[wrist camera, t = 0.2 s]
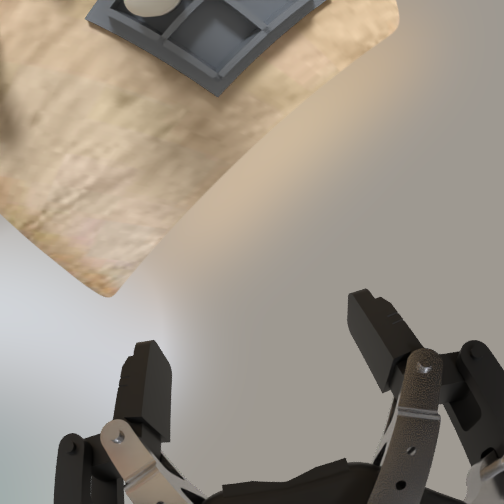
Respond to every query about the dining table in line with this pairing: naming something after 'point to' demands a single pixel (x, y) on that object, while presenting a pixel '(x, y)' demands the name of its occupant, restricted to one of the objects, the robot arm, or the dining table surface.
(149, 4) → the white dome-top cylinder
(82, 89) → the dining table surface
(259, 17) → the grey compartment tray
